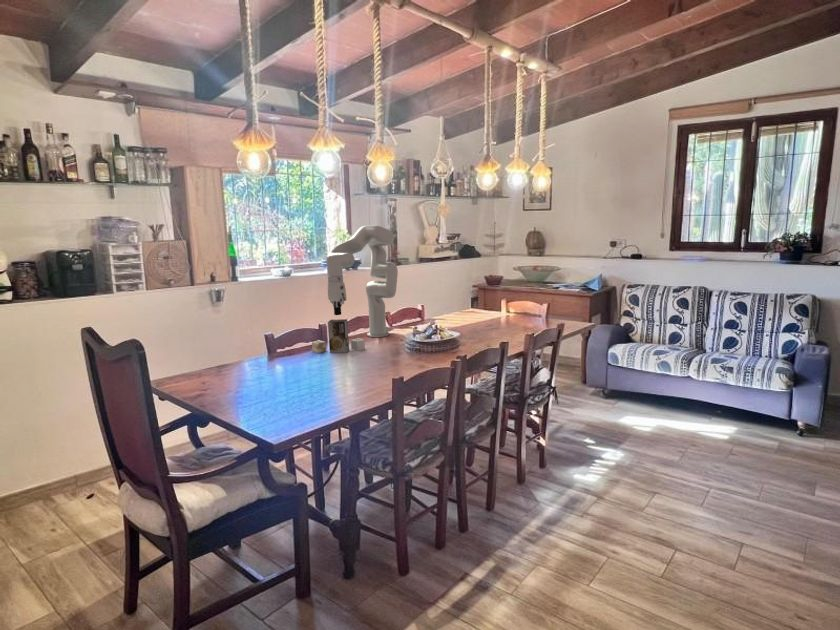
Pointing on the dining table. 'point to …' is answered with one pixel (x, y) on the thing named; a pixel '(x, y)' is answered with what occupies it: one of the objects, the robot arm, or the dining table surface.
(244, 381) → the dining table surface
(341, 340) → the coffee box
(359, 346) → the grey block marked
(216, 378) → the dining table surface
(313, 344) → the birch block marked
